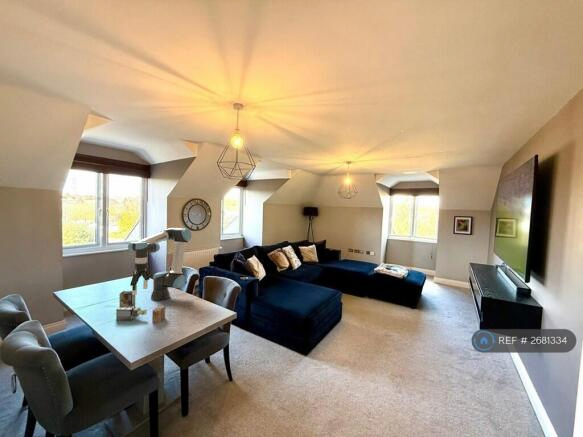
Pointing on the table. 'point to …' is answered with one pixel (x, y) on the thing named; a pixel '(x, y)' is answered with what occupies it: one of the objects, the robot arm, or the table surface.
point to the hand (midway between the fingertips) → (140, 291)
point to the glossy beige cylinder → (138, 312)
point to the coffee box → (127, 298)
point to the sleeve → (124, 313)
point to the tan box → (158, 314)
